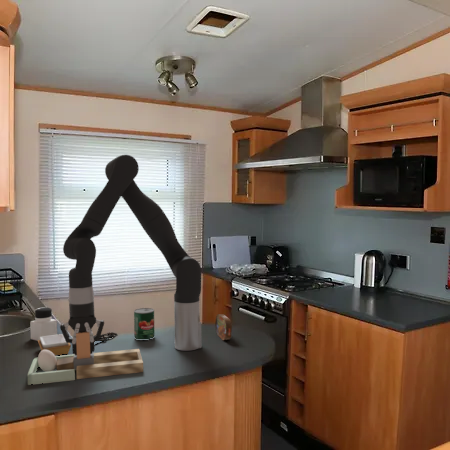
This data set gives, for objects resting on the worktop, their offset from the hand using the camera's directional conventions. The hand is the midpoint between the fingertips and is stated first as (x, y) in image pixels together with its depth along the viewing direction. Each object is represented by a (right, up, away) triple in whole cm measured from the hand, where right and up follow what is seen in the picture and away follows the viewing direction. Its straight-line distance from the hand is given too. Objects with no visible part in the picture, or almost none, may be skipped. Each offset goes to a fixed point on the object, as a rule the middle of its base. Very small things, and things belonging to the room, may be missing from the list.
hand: (83, 353), depth 146 cm
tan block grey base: (0, -4, 0) cm, 4 cm away
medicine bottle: (-26, -4, +35) cm, 43 cm away
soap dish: (-16, -5, +18) cm, 25 cm away
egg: (-9, -5, -2) cm, 11 cm away
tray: (-9, -6, -2) cm, 11 cm away
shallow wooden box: (+8, -5, +3) cm, 10 cm away
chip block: (-5, -5, -1) cm, 7 cm away
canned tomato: (+13, -4, +34) cm, 37 cm away
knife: (-4, -5, +27) cm, 28 cm away
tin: (+44, -3, +35) cm, 56 cm away
